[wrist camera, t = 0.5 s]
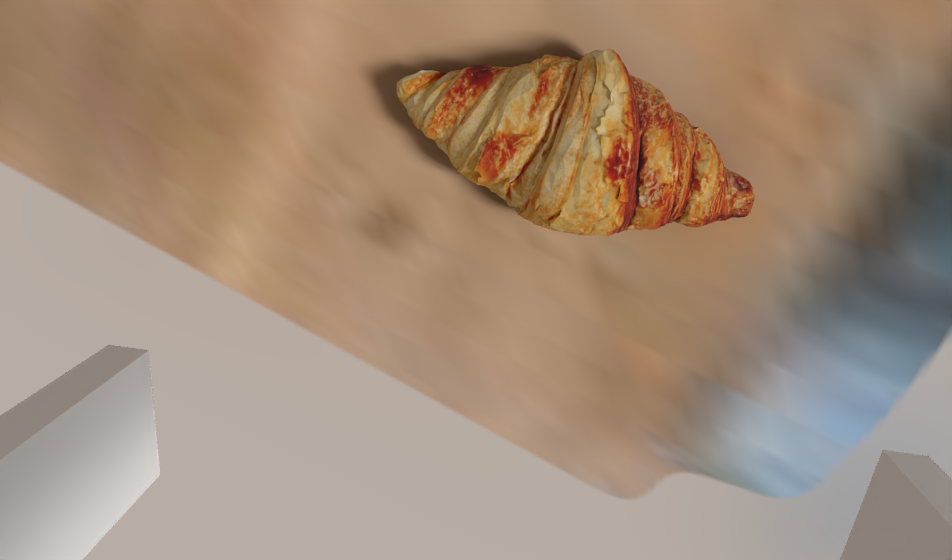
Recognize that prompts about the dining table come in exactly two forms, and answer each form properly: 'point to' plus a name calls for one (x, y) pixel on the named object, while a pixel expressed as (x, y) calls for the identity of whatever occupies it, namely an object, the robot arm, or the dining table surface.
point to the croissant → (576, 144)
